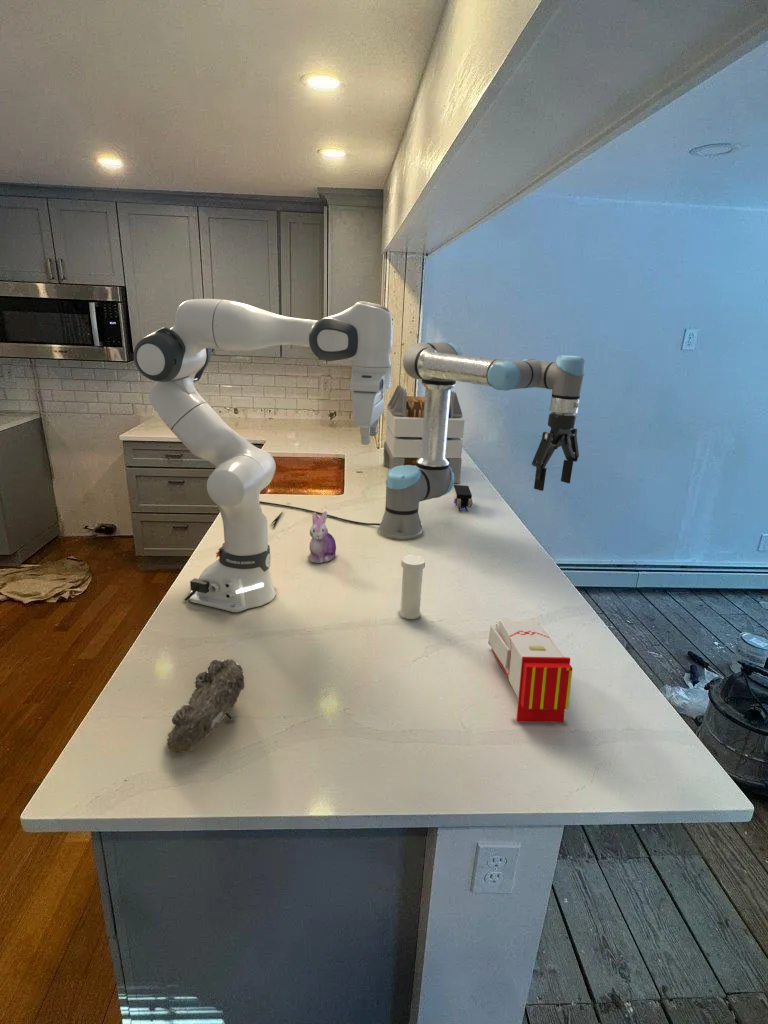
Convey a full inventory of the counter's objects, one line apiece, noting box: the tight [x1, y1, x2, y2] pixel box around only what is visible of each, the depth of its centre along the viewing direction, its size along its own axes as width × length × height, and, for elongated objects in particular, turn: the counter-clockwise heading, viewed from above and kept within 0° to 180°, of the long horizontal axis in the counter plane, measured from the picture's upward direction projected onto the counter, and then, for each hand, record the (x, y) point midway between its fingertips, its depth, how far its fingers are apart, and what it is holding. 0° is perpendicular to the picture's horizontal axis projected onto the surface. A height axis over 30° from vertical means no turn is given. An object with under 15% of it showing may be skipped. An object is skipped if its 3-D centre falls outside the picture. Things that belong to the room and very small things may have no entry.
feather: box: [270, 512, 283, 529], centre depth 212 cm, size 2×28×2 cm
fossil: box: [166, 658, 245, 754], centre depth 106 cm, size 22×10×15 cm
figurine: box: [309, 510, 337, 564], centre depth 176 cm, size 9×10×15 cm
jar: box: [399, 567, 424, 620], centre depth 145 cm, size 5×5×15 cm
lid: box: [400, 554, 426, 571], centre depth 143 cm, size 6×6×2 cm
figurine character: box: [453, 484, 473, 512], centre depth 229 cm, size 7×8×15 cm
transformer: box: [383, 384, 465, 484], centre depth 268 cm, size 34×33×41 cm
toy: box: [488, 619, 573, 723], centre depth 122 cm, size 12×13×30 cm
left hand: (369, 439), depth 132 cm, fingers open, 8 cm apart
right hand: (552, 485), depth 166 cm, fingers open, 13 cm apart
